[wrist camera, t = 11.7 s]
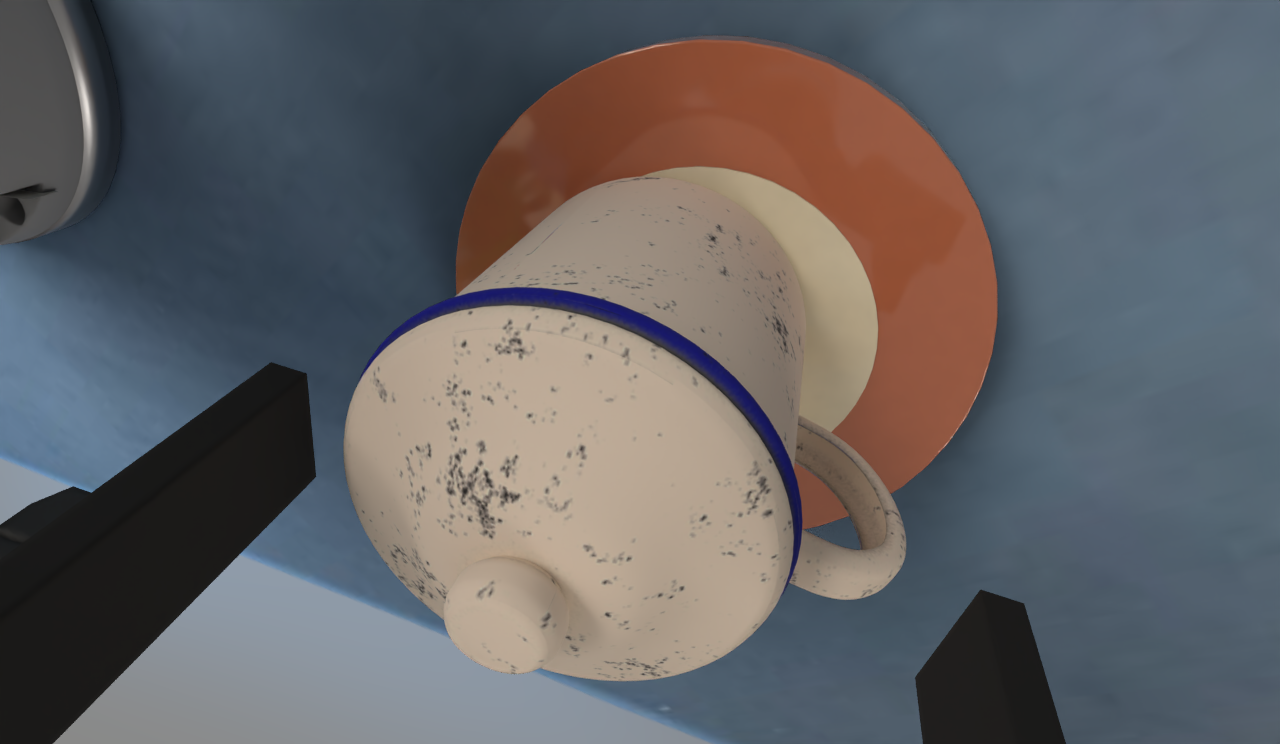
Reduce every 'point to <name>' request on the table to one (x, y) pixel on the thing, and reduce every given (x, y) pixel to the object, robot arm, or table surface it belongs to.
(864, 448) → the saucer
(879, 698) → the table surface
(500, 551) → the teacup with lid
